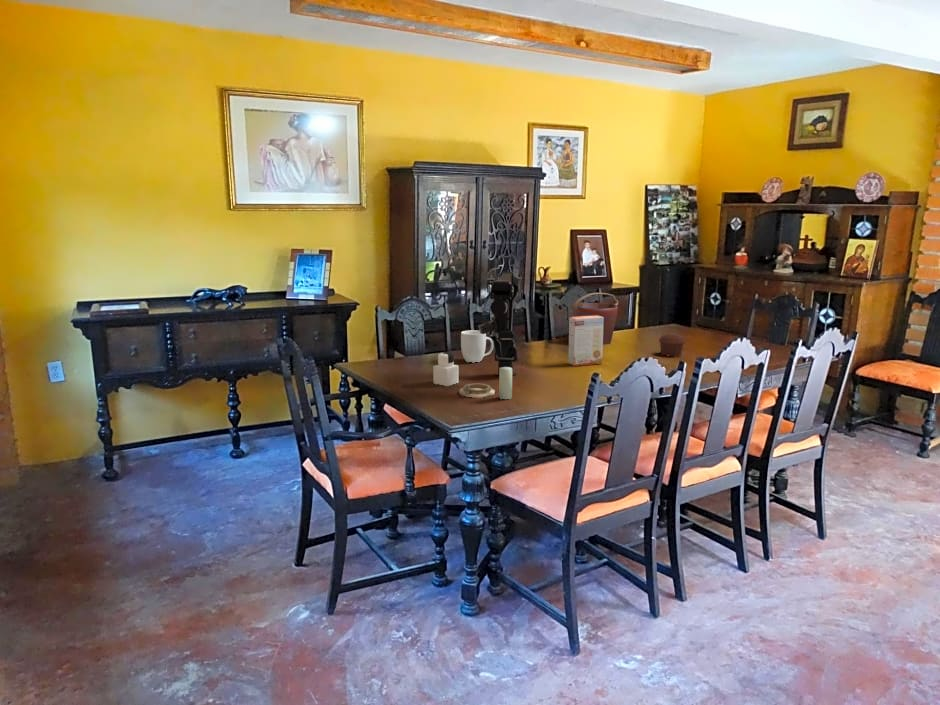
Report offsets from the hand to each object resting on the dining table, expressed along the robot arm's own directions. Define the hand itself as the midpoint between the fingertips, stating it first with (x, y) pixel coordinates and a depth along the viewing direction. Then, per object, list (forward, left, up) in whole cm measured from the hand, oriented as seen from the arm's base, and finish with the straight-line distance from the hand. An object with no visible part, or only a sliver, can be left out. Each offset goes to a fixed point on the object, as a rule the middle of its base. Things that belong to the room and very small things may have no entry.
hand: (500, 355), depth 257 cm
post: (+11, +10, -12) cm, 19 cm away
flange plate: (+12, -2, -12) cm, 17 cm away
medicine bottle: (+8, -20, -13) cm, 25 cm away
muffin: (-96, +30, -13) cm, 101 cm away
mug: (-30, -34, -12) cm, 47 cm away
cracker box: (-55, +7, -13) cm, 57 cm away
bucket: (-101, -12, -13) cm, 103 cm away
